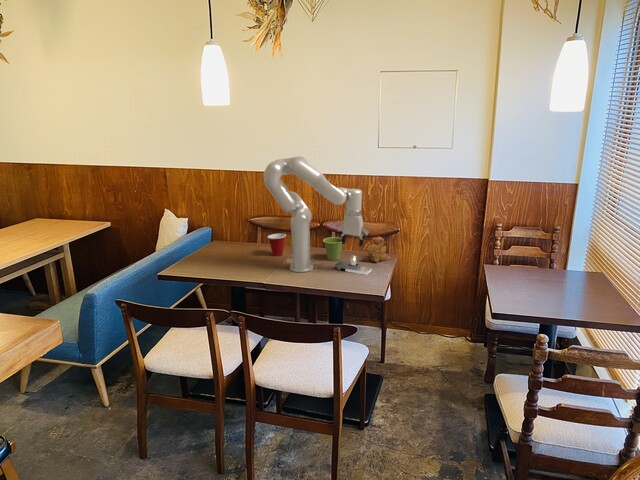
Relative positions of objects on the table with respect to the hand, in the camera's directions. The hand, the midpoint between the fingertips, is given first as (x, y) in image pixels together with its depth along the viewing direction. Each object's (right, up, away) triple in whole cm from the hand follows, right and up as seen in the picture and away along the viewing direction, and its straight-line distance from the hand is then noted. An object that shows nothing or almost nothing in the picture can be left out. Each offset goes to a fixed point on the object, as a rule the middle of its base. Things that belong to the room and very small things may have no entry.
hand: (352, 244), depth 253 cm
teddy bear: (+16, -9, +20) cm, 27 cm away
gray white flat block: (+1, -14, +4) cm, 14 cm away
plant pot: (-9, -8, +23) cm, 26 cm away
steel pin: (+1, -14, +4) cm, 14 cm away
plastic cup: (-42, -6, +31) cm, 53 cm away
